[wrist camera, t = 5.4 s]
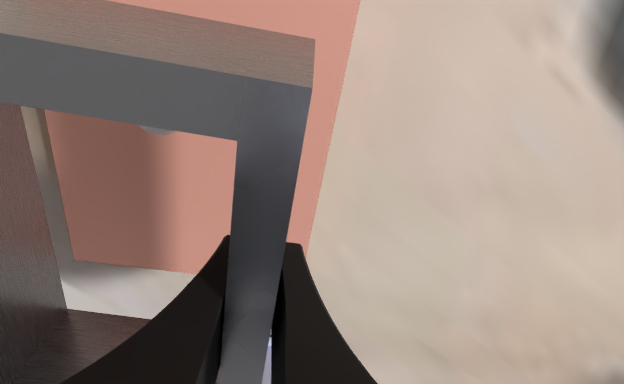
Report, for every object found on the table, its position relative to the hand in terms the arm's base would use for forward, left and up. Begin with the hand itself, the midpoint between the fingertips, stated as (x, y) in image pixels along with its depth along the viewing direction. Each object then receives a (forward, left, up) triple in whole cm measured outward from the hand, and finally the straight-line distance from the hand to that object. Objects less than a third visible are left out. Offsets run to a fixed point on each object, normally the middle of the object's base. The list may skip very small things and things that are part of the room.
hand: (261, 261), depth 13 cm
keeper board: (0, +4, -10) cm, 11 cm away
